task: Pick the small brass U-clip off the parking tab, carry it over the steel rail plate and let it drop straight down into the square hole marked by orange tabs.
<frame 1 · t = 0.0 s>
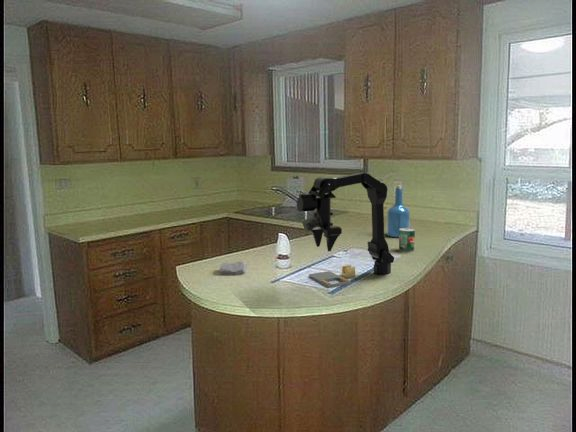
hand: (323, 248, 186), 15 cm above the countertop, tool pointing down, fingers open, 9 cm apart
wine bottle: (398, 236, 281), on the countertop
stone block: (233, 273, 209), on the countertop
brass clip: (348, 275, 196), point 1 cm above the countertop, touching parking tab
rail plate: (329, 282, 191), on the countertop
canned tomato: (406, 250, 244), on the countertop
parking tab: (348, 278, 197), on the countertop
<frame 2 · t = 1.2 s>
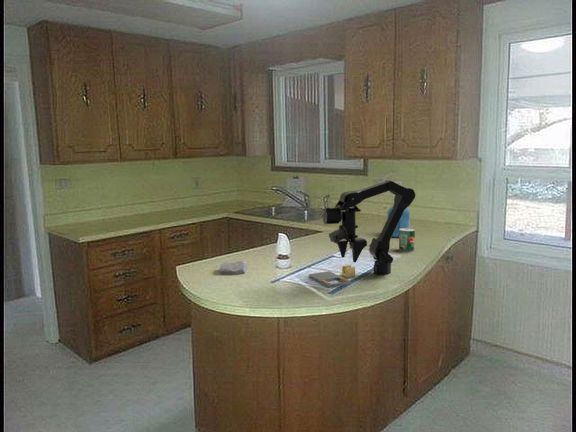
hand: (348, 259, 195), 8 cm above the countertop, tool pointing down, fingers open, 9 cm apart
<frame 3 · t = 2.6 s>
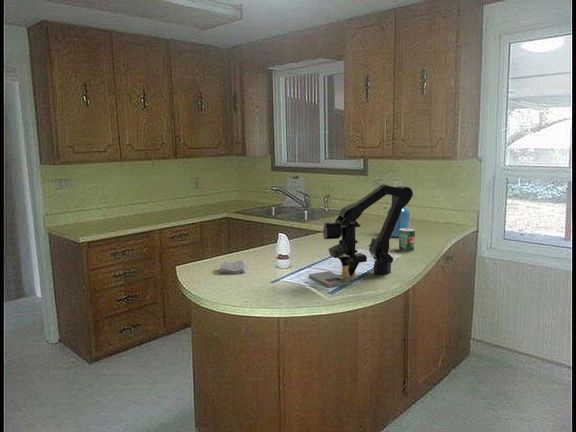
hand: (348, 274, 196), 2 cm above the countertop, tool pointing down, fingers closed on brass clip, 4 cm apart
brass clip: (348, 275, 196), point 1 cm above the countertop, touching gripper, parking tab
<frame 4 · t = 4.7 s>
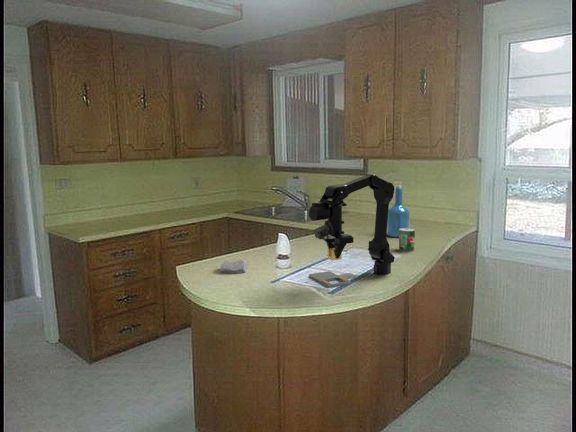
hand: (334, 257, 185), 12 cm above the countertop, tool pointing down, fingers closed on brass clip, 4 cm apart
brass clip: (334, 258, 185), point 11 cm above the countertop, touching gripper
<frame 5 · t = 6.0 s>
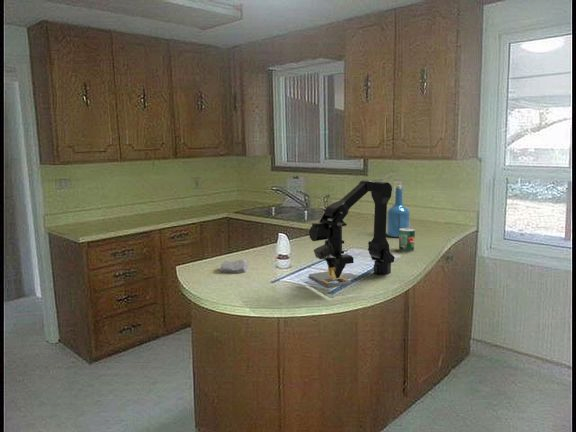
hand: (334, 276, 187), 4 cm above the countertop, tool pointing down, fingers closed on brass clip, 4 cm apart
brass clip: (334, 277, 187), point 3 cm above the countertop, touching gripper
when the fingers open (3 cm above the countertop, at t = 6.9 s): brass clip drops 2 cm, resting in rail plate.
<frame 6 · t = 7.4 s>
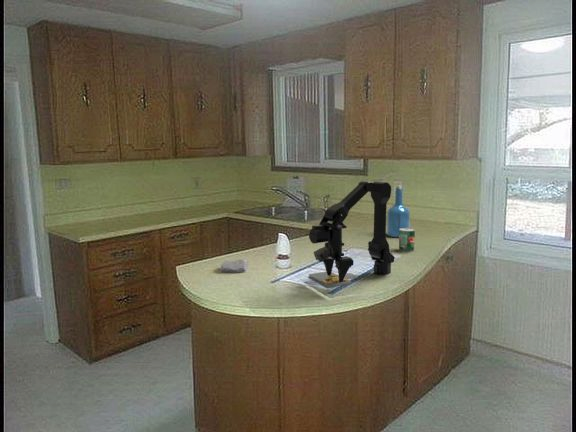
hand: (334, 278, 187), 3 cm above the countertop, tool pointing down, fingers open, 9 cm apart
brass clip: (334, 285, 187), resting in rail plate
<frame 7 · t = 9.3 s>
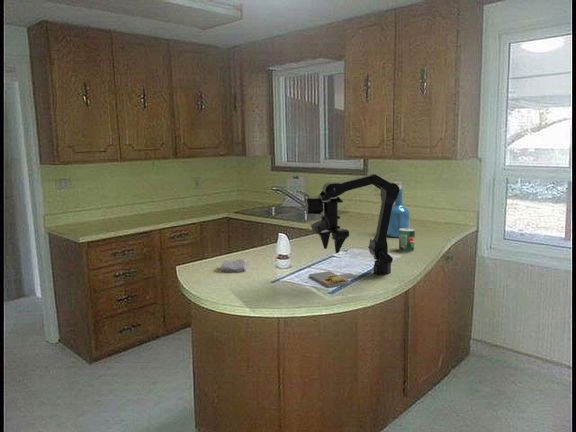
hand: (331, 250, 194), 12 cm above the countertop, tool pointing down, fingers open, 9 cm apart
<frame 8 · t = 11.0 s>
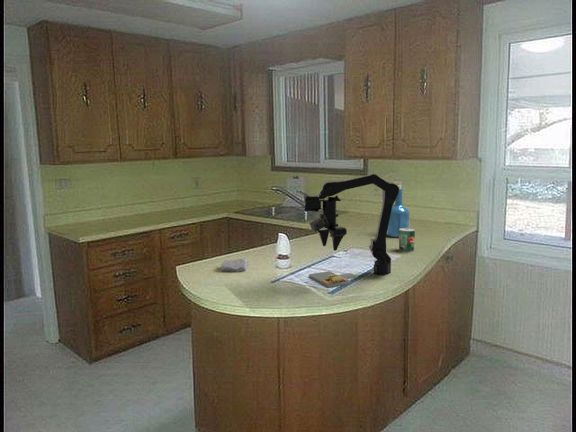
hand: (329, 248, 199), 12 cm above the countertop, tool pointing down, fingers open, 9 cm apart
at the end: brass clip 0.0 cm from the target spot on the rail plate, point 0.0 cm above the rail plate's base; brass clip tilted 0°; the gripper is holding nothing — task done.
